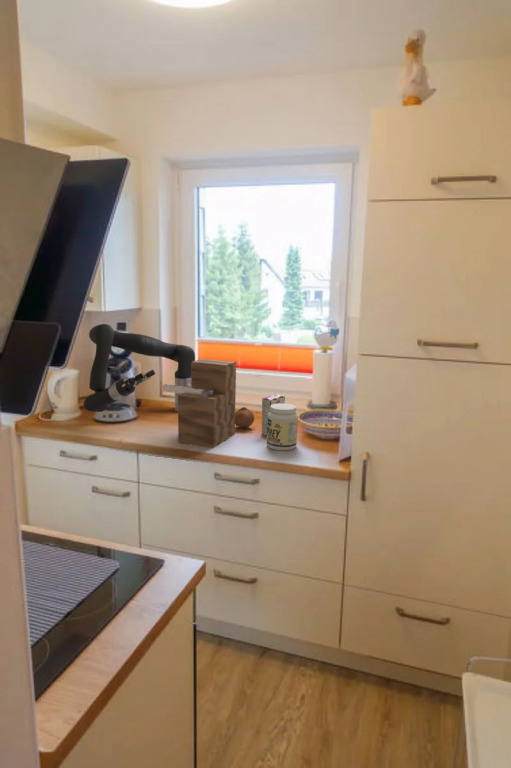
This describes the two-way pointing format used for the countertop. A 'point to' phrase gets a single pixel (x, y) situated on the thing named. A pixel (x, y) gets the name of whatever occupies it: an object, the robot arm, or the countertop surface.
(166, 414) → the countertop surface
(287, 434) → the supplement tub
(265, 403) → the candy bar box
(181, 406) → the brown wooden stepped block
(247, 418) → the onion
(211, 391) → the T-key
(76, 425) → the countertop surface
